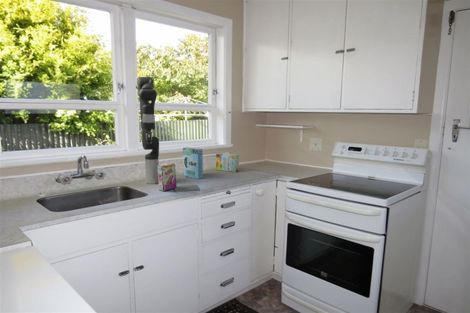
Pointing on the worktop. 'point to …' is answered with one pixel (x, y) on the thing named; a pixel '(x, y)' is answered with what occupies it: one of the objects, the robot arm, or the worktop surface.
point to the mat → (186, 188)
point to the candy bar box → (166, 176)
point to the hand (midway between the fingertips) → (149, 149)
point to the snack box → (227, 162)
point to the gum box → (193, 162)
